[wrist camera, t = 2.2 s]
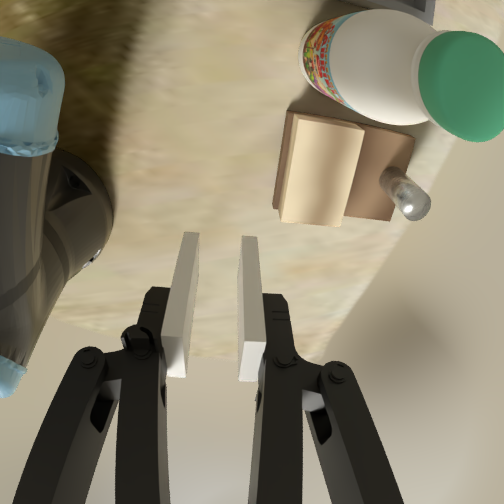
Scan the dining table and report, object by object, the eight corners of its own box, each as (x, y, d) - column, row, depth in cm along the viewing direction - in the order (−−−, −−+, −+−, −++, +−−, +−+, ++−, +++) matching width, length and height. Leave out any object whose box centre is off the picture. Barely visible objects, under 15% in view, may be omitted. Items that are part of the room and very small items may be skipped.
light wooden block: (278, 209, 32) (281, 221, 30) (293, 113, 26) (298, 119, 24) (333, 214, 33) (339, 227, 31) (355, 124, 27) (364, 130, 25)
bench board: (272, 203, 33) (273, 208, 32) (286, 110, 27) (288, 112, 26) (385, 216, 34) (389, 221, 33) (410, 135, 29) (415, 138, 28)
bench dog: (375, 190, 31) (399, 219, 26) (383, 164, 29) (409, 189, 24) (399, 194, 31) (424, 222, 26) (407, 169, 30) (435, 194, 25)
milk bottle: (357, 11, 21) (515, -9, 5) (386, 82, 25) (543, 153, 9) (282, 36, 23) (366, 8, 7) (316, 108, 27) (425, 207, 11)
